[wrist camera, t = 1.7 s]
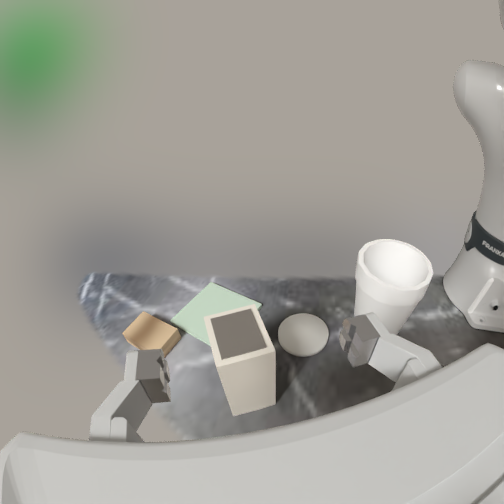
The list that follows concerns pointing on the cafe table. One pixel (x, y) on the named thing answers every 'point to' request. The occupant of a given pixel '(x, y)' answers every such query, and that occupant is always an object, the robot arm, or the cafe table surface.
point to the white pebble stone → (303, 334)
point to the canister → (243, 358)
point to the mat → (208, 309)
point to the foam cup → (390, 281)
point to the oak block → (151, 334)
